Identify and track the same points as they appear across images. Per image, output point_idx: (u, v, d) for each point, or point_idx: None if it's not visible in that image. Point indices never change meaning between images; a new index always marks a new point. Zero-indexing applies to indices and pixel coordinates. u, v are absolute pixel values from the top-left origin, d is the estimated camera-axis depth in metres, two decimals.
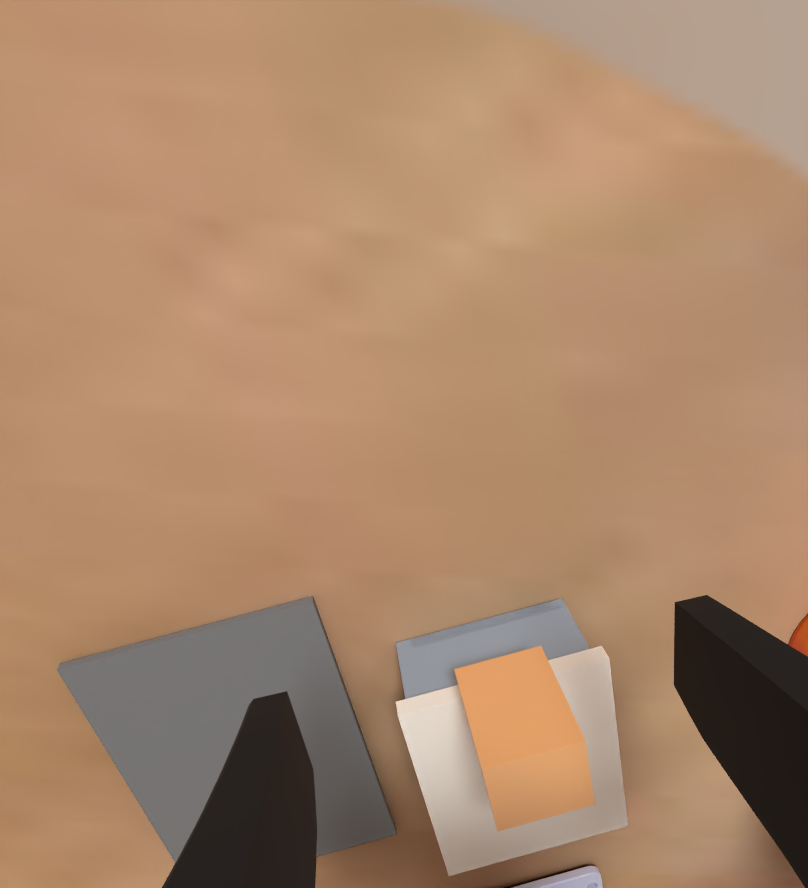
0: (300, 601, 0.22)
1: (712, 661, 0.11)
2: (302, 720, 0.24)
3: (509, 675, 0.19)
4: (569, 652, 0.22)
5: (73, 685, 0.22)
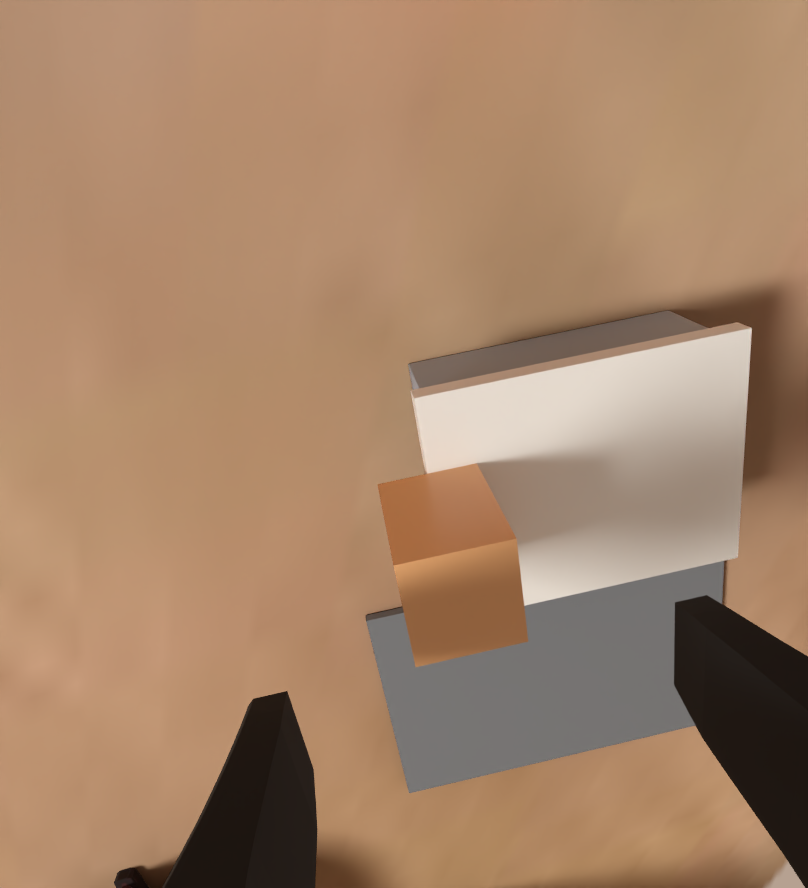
0: (368, 627, 0.23)
1: (712, 661, 0.11)
2: None
3: None
4: None
5: (428, 785, 0.26)
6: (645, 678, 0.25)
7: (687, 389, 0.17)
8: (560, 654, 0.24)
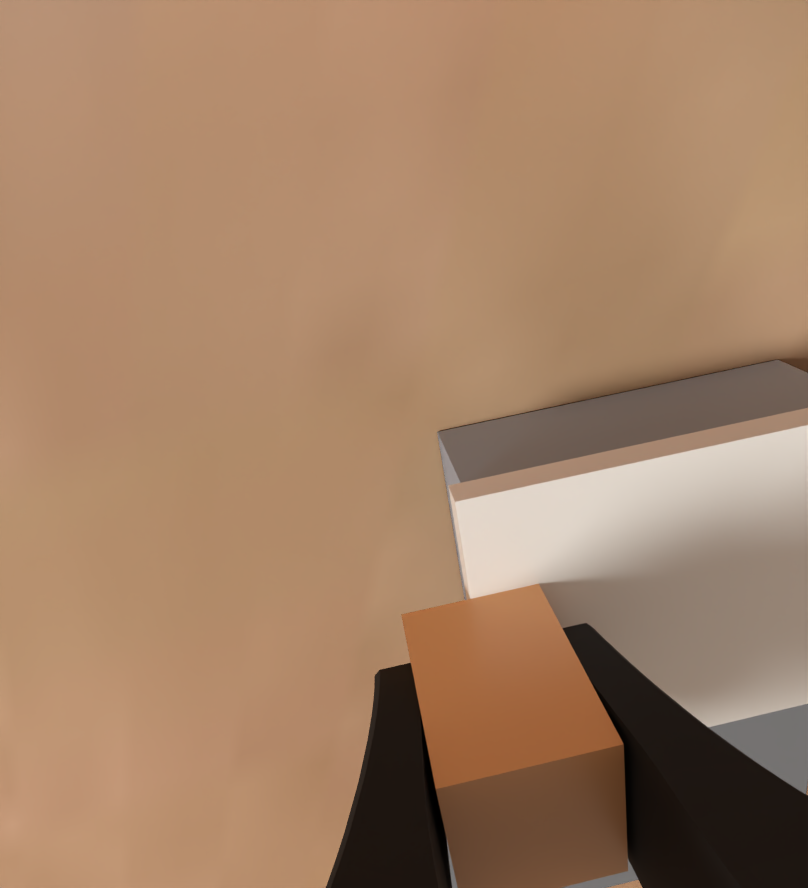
0: None
1: None
2: None
3: None
4: None
5: None
6: None
7: None
8: None
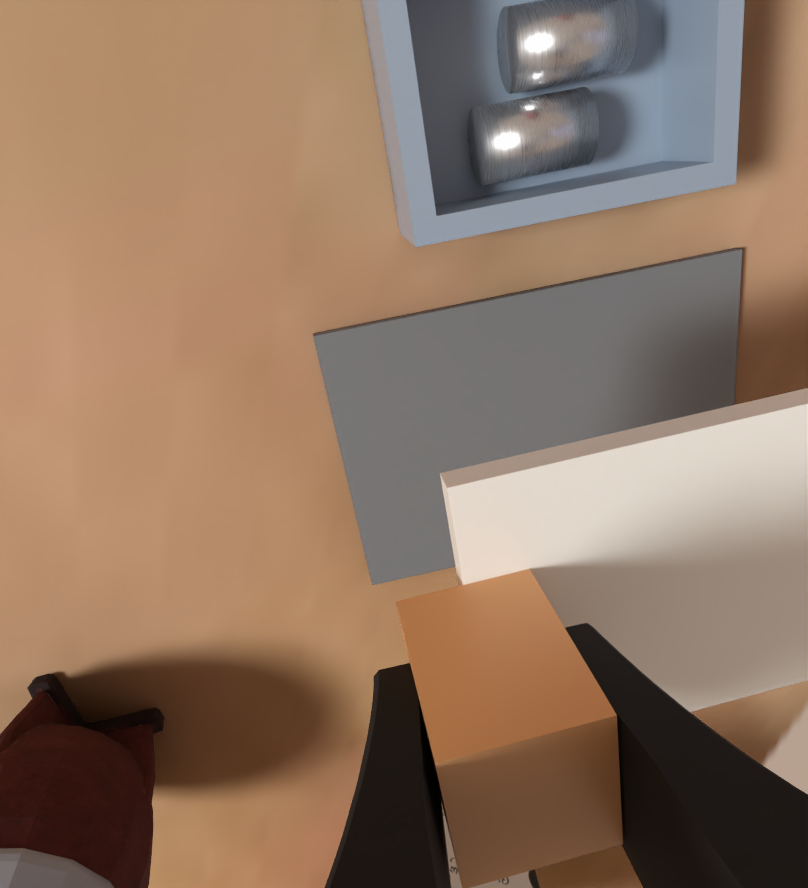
0: (316, 348, 0.19)
1: None
2: (495, 361, 0.20)
3: None
4: None
5: (394, 575, 0.22)
6: None
7: None
8: (546, 401, 0.20)
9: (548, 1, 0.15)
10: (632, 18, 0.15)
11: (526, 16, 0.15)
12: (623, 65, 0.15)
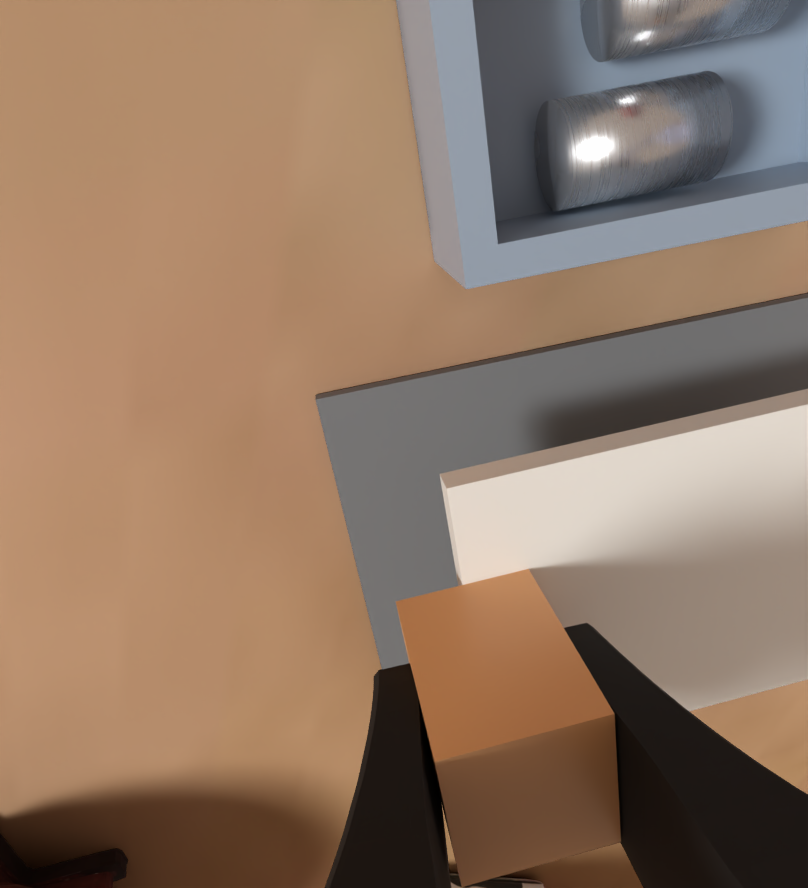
0: (320, 415, 0.14)
1: None
2: (557, 429, 0.15)
3: None
4: None
5: None
6: None
7: (806, 465, 0.12)
8: None
9: None
10: None
11: None
12: (772, 17, 0.10)
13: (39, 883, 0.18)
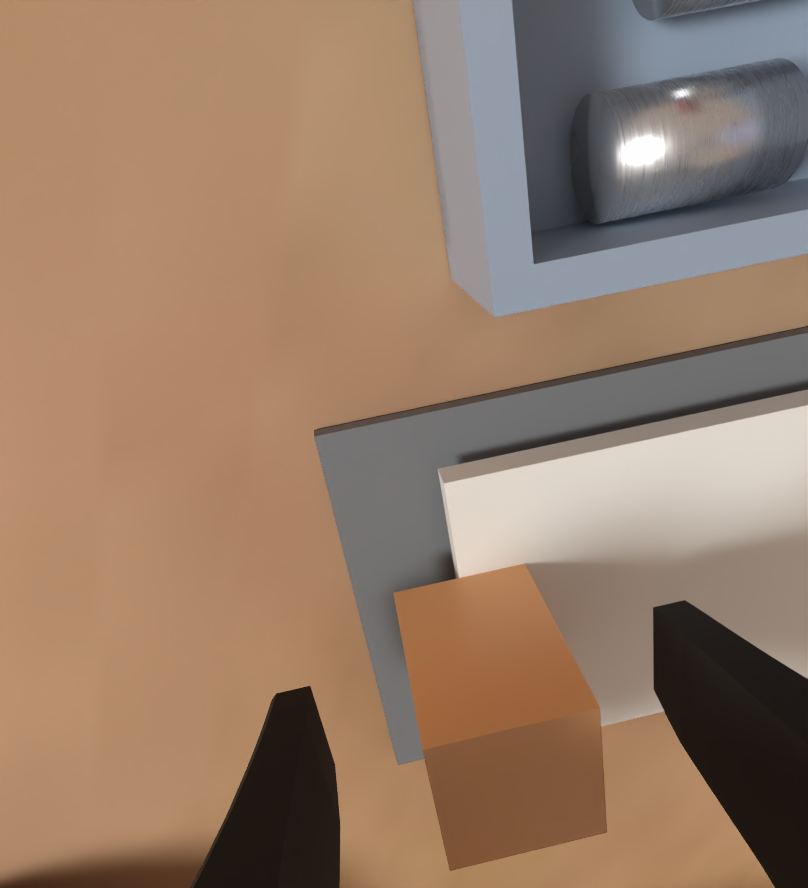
0: (319, 452, 0.12)
1: (688, 667, 0.11)
2: None
3: None
4: None
5: None
6: None
7: (805, 465, 0.12)
8: None
9: None
10: None
11: None
12: None
13: None
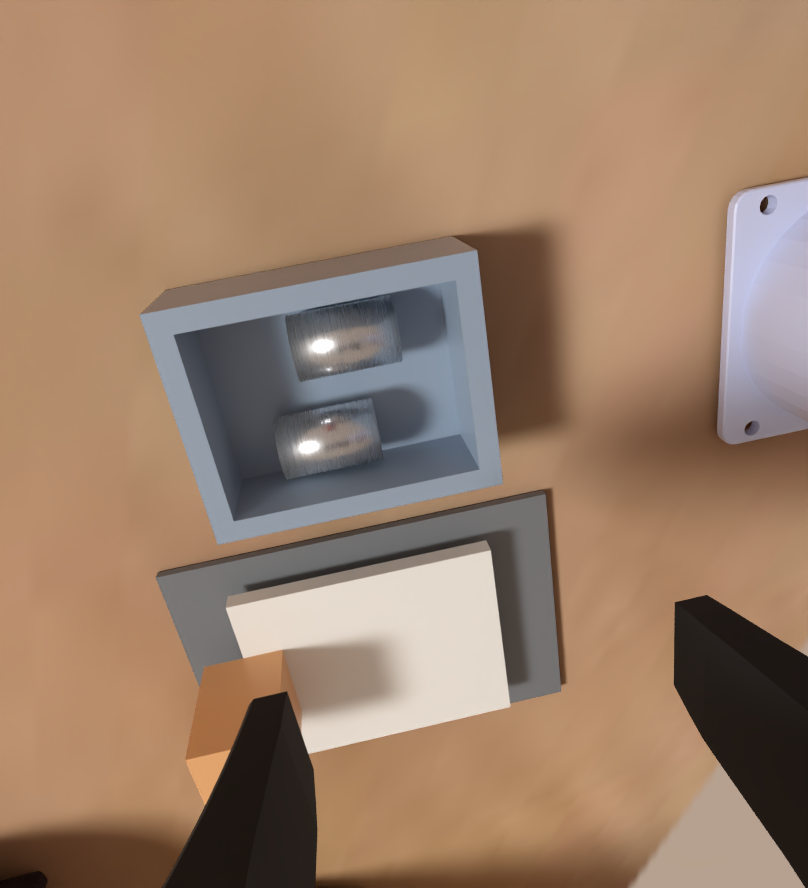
0: (161, 585, 0.21)
1: (712, 661, 0.11)
2: None
3: None
4: None
5: None
6: None
7: (446, 593, 0.21)
8: None
9: None
10: (388, 307, 0.17)
11: (296, 315, 0.17)
12: (394, 346, 0.17)
13: None
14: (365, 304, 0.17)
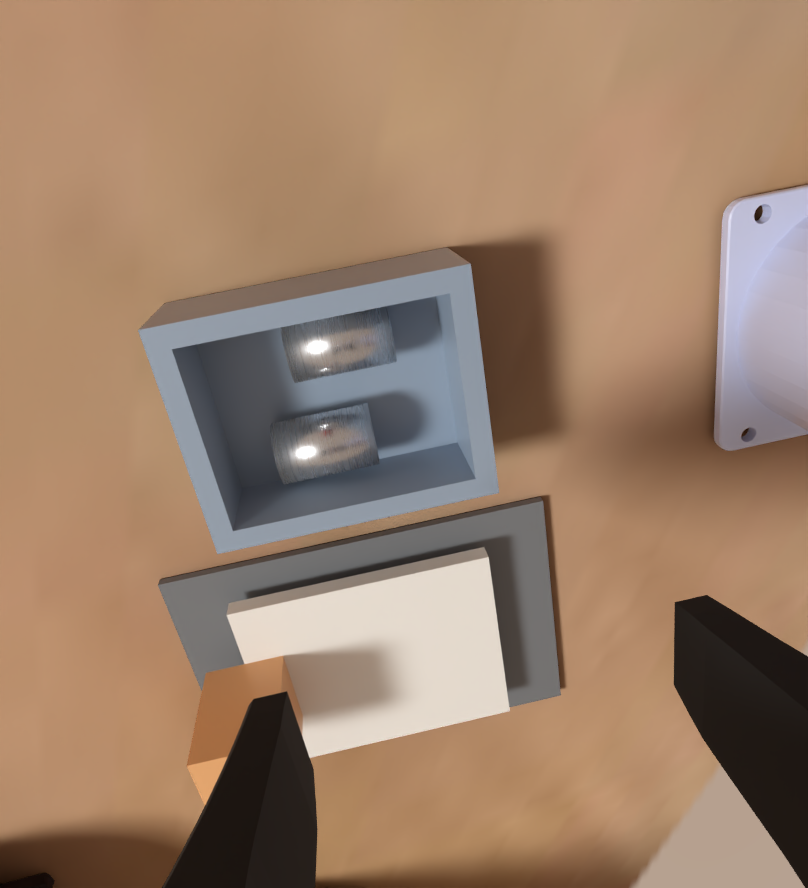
0: (163, 592, 0.21)
1: (712, 661, 0.11)
2: None
3: None
4: None
5: None
6: None
7: (444, 599, 0.21)
8: None
9: None
10: None
11: None
12: (386, 335, 0.17)
13: None
14: None
